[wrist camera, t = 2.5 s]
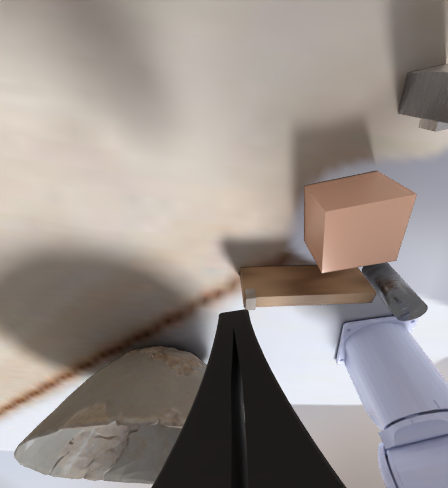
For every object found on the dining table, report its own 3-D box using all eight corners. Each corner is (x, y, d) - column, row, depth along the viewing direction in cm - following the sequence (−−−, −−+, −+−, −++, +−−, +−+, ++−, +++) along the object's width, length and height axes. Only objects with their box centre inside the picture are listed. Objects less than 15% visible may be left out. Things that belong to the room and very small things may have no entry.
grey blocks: (384, 274, 22) (422, 318, 18) (360, 277, 22) (392, 322, 18) (448, 63, 12) (561, 57, 8) (406, 73, 13) (495, 71, 9)
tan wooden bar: (355, 262, 21) (378, 293, 18) (350, 273, 22) (372, 305, 19) (240, 266, 21) (244, 298, 18) (240, 277, 22) (244, 310, 19)
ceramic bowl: (76, 389, 35) (33, 484, 26) (67, 289, 22) (-19, 414, 14) (215, 403, 39) (215, 487, 31) (275, 328, 27) (301, 437, 19)
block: (365, 229, 19) (396, 260, 16) (304, 240, 19) (321, 273, 16) (376, 170, 16) (417, 194, 13) (304, 185, 16) (325, 211, 13)
